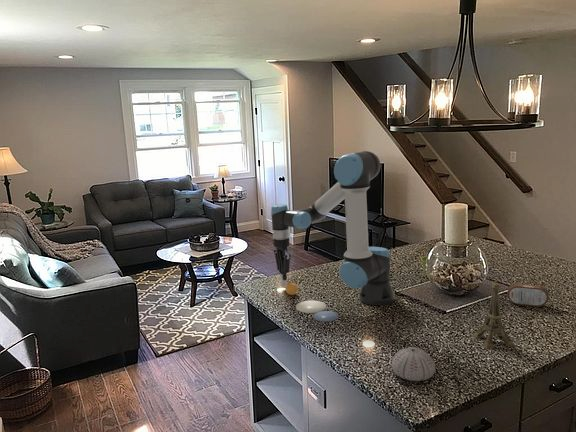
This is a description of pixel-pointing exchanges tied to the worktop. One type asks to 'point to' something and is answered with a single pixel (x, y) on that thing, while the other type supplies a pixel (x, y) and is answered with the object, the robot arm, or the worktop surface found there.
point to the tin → (528, 295)
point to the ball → (291, 288)
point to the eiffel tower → (493, 322)
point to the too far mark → (326, 316)
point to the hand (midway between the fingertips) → (283, 285)
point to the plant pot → (424, 263)
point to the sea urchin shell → (413, 364)
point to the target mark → (310, 306)
